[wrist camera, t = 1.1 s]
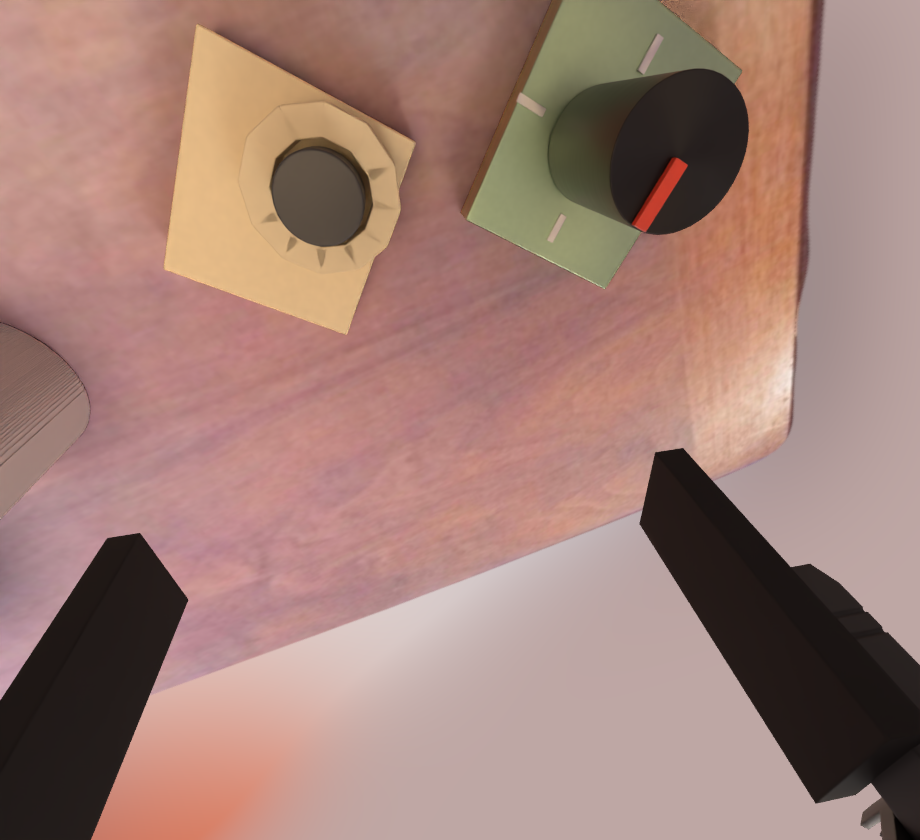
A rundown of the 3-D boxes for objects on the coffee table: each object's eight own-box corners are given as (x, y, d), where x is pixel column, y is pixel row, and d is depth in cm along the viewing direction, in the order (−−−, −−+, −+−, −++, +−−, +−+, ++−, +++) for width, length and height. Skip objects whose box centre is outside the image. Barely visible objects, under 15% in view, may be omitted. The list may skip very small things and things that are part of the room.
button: (291, 128, 18) (283, 129, 16) (377, 171, 19) (376, 175, 18) (270, 217, 20) (261, 224, 18) (350, 251, 21) (348, 261, 19)
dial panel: (568, -46, 19) (588, -63, 17) (718, 75, 22) (747, 71, 20) (458, 212, 24) (464, 219, 22) (593, 280, 27) (608, 291, 25)
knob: (586, 58, 19) (678, 31, 13) (670, 118, 21) (785, 118, 15) (529, 177, 22) (585, 199, 16) (609, 222, 23) (687, 258, 17)
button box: (214, 31, 19) (177, 13, 15) (418, 142, 22) (424, 147, 19) (179, 258, 23) (146, 280, 20) (353, 322, 26) (349, 351, 23)
